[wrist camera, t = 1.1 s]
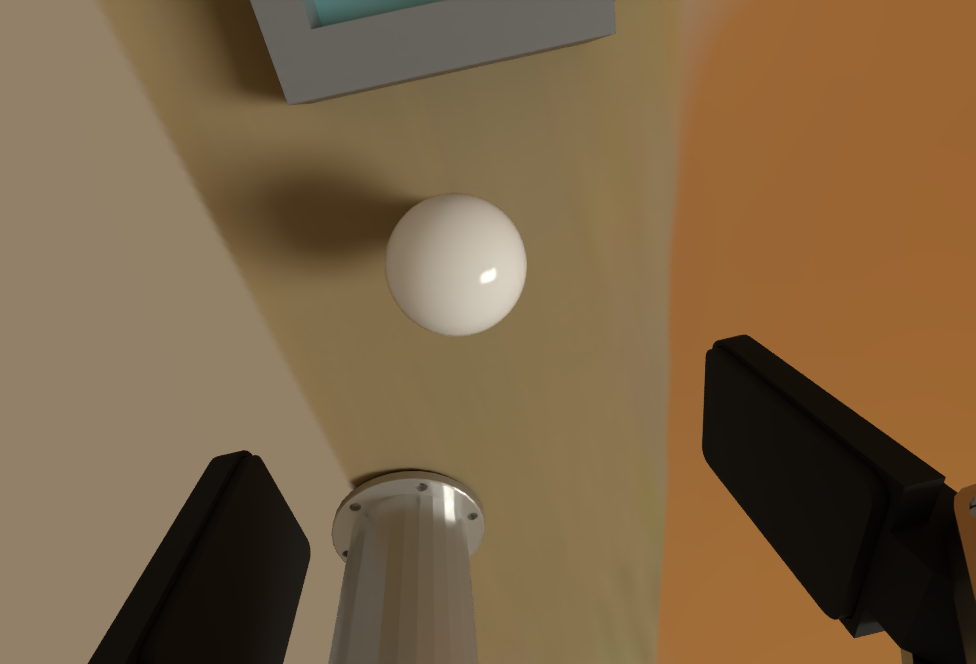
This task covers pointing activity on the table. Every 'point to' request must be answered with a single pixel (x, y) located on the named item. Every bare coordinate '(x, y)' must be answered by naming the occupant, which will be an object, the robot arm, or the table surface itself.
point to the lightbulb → (455, 264)
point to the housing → (412, 38)
